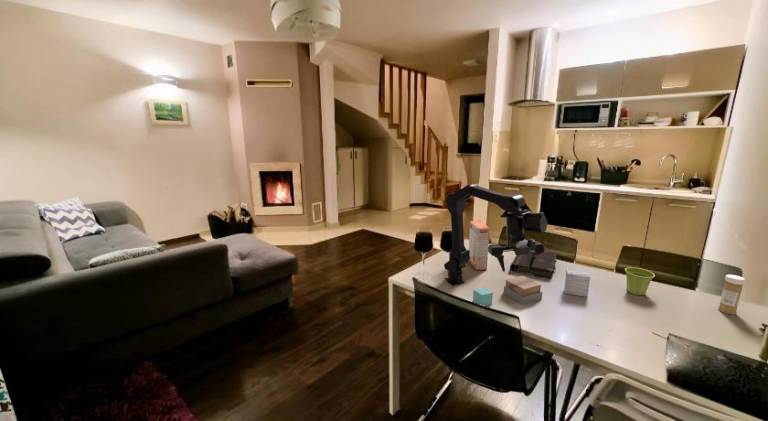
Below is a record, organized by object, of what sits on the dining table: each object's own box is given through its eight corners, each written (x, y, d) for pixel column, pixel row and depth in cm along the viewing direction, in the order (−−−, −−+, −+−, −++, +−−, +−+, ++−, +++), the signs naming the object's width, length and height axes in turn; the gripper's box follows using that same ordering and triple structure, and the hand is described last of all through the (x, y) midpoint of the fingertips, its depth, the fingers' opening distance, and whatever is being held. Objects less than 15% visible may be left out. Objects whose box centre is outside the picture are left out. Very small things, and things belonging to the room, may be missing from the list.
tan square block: (505, 286, 128) (506, 279, 128) (522, 282, 132) (522, 275, 131) (523, 296, 120) (523, 289, 120) (540, 291, 124) (541, 284, 123)
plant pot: (651, 291, 129) (655, 271, 127) (649, 300, 122) (653, 279, 120) (623, 284, 135) (626, 265, 133) (620, 292, 128) (623, 272, 126)
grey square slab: (503, 293, 130) (503, 285, 129) (522, 289, 133) (522, 281, 133) (522, 305, 121) (523, 297, 120) (541, 300, 124) (542, 291, 124)
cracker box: (487, 270, 151) (490, 228, 147) (475, 270, 151) (477, 228, 147) (479, 259, 165) (481, 220, 160) (467, 259, 165) (469, 220, 160)
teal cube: (472, 301, 123) (473, 289, 122) (483, 298, 125) (484, 287, 124) (481, 307, 119) (481, 295, 118) (491, 304, 121) (492, 292, 120)
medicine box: (586, 292, 129) (588, 272, 127) (587, 297, 125) (590, 277, 123) (563, 289, 132) (566, 269, 130) (564, 293, 128) (567, 273, 126)
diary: (509, 272, 150) (509, 262, 149) (518, 255, 171) (519, 246, 170) (553, 280, 140) (554, 270, 139) (557, 261, 161) (558, 252, 160)
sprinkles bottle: (739, 314, 112) (748, 278, 109) (730, 315, 111) (739, 280, 108) (723, 307, 116) (731, 273, 113) (714, 309, 115) (722, 274, 112)
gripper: (495, 236, 108) (497, 280, 110) (551, 232, 107) (552, 277, 109) (486, 230, 119) (488, 269, 121) (537, 226, 118) (538, 266, 120)
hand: (516, 270), depth 118 cm, fingers open, 9 cm apart
